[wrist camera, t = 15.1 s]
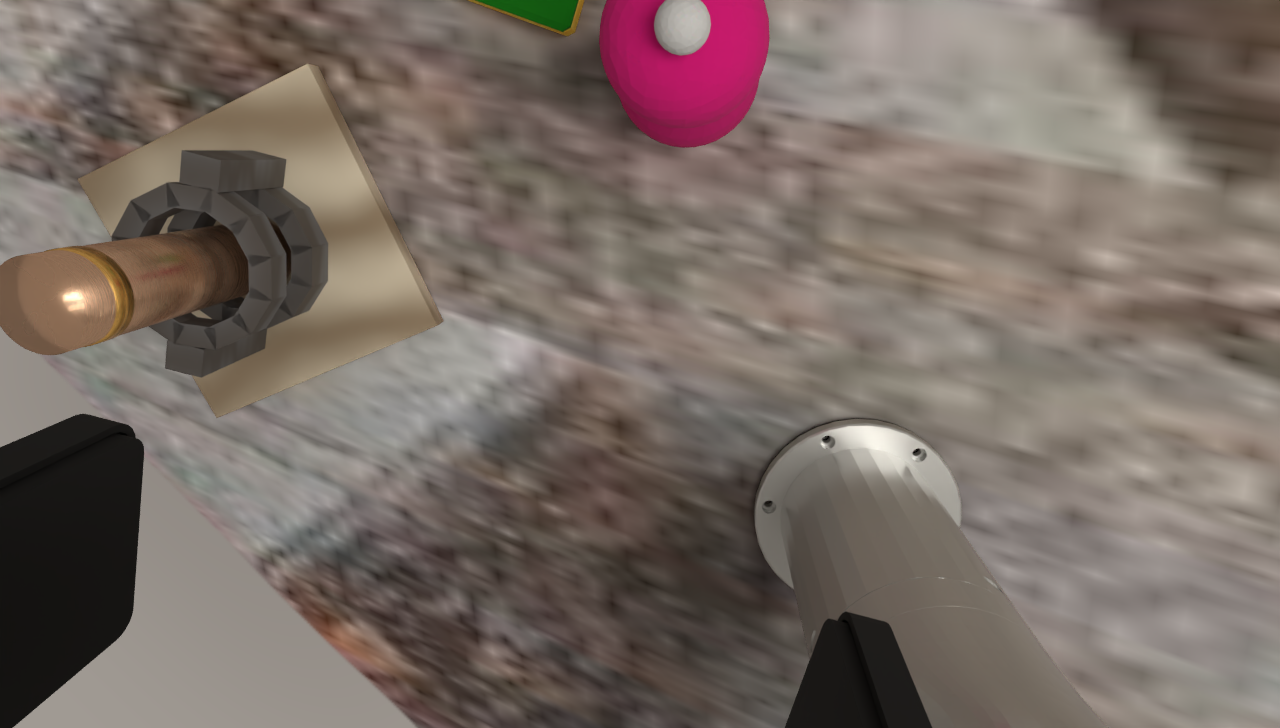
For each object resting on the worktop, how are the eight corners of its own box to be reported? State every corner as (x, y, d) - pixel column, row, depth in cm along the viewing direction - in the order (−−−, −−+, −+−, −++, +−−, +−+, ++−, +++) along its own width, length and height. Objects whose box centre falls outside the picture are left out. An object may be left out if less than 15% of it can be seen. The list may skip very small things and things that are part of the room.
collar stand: (443, 321, 47) (397, 351, 40) (227, 411, 50) (148, 456, 42) (317, 66, 43) (242, 48, 36) (93, 178, 46) (-19, 183, 39)
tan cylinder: (307, 272, 45) (109, 334, 30) (250, 297, 46) (27, 371, 31) (273, 207, 45) (51, 237, 29) (215, 234, 45) (-32, 277, 30)
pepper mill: (617, 141, 43) (556, 133, 24) (628, 3, 41) (571, -125, 22) (744, 153, 43) (784, 155, 24) (761, 14, 41) (820, -105, 22)
